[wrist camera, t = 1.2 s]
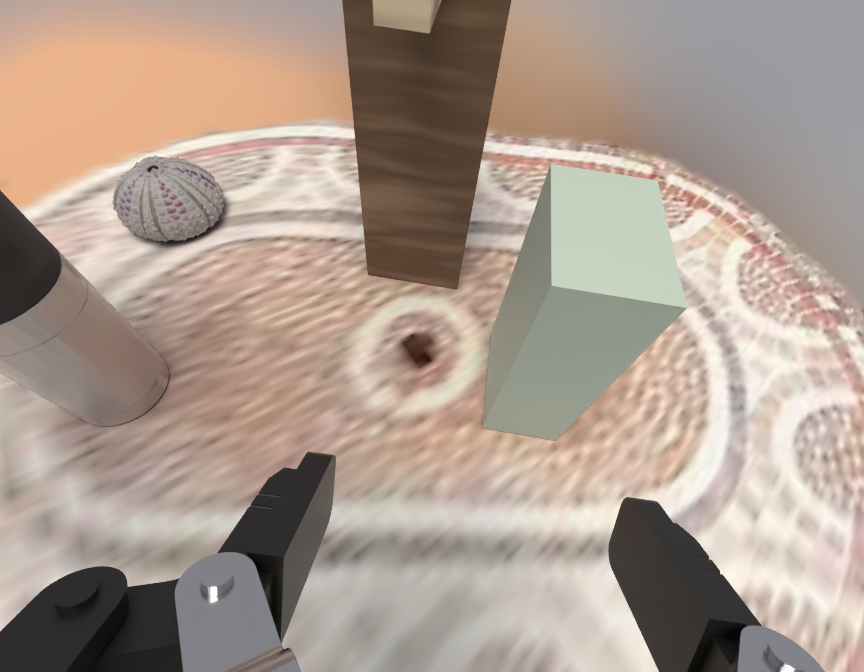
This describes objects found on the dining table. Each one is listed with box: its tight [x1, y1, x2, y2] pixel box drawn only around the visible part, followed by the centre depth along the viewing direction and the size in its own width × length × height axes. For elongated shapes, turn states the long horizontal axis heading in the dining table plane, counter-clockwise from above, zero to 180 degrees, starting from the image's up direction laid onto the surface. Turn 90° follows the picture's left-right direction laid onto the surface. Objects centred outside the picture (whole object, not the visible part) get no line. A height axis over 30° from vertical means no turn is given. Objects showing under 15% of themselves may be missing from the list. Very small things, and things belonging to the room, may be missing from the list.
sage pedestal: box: [482, 164, 687, 441], centre depth 38 cm, size 12×8×24 cm, turn 171°
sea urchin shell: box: [112, 156, 224, 242], centre depth 55 cm, size 13×14×8 cm
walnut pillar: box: [342, 0, 511, 289], centre depth 45 cm, size 14×12×32 cm
